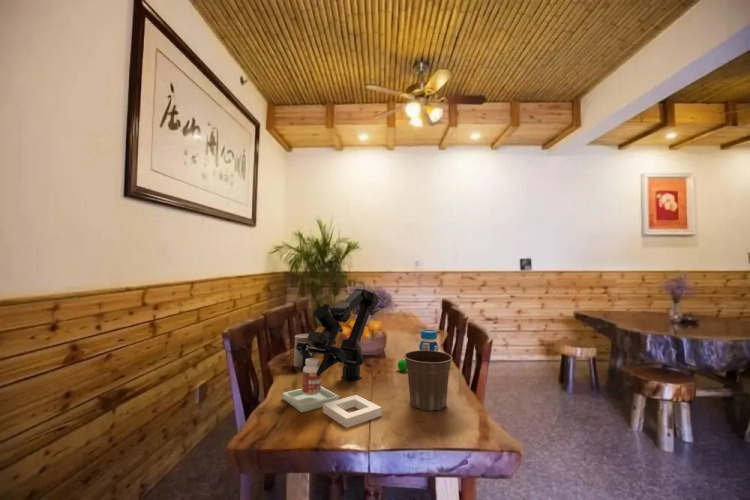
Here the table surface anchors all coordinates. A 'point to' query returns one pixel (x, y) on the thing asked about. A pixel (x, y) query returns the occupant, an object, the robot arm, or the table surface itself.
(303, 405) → the parts tray
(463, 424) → the table surface
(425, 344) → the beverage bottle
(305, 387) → the pill bottle
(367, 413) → the socket block
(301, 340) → the pillar candle
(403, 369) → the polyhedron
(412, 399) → the plant pot
